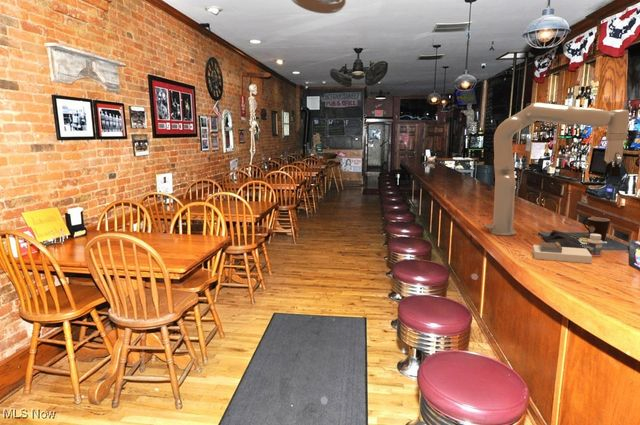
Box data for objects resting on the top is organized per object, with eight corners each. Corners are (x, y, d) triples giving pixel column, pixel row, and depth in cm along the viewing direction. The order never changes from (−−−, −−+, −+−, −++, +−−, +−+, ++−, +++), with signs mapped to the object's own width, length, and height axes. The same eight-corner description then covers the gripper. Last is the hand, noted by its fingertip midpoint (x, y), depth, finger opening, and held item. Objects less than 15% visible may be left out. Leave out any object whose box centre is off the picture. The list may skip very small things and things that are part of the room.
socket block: (534, 258, 165) (535, 252, 164) (532, 251, 175) (533, 245, 174) (591, 263, 157) (592, 256, 156) (586, 255, 167) (586, 248, 166)
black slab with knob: (550, 250, 177) (550, 240, 176) (540, 238, 197) (541, 228, 196) (589, 252, 172) (590, 242, 171) (576, 239, 192) (577, 230, 191)
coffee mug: (611, 242, 184) (613, 221, 182) (590, 241, 186) (592, 221, 184) (599, 235, 195) (601, 216, 193) (580, 235, 197) (582, 216, 195)
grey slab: (541, 251, 165) (541, 244, 164) (539, 246, 172) (539, 240, 171) (561, 252, 162) (562, 246, 161) (559, 247, 169) (559, 241, 168)
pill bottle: (583, 253, 170) (584, 233, 168) (594, 252, 170) (596, 232, 168) (592, 257, 164) (594, 236, 163) (604, 256, 165) (606, 235, 163)
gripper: (601, 137, 189) (598, 172, 192) (611, 138, 173) (607, 176, 177) (620, 136, 186) (616, 172, 189) (631, 137, 170) (627, 176, 174)
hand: (612, 174), depth 183 cm, fingers open, 9 cm apart
